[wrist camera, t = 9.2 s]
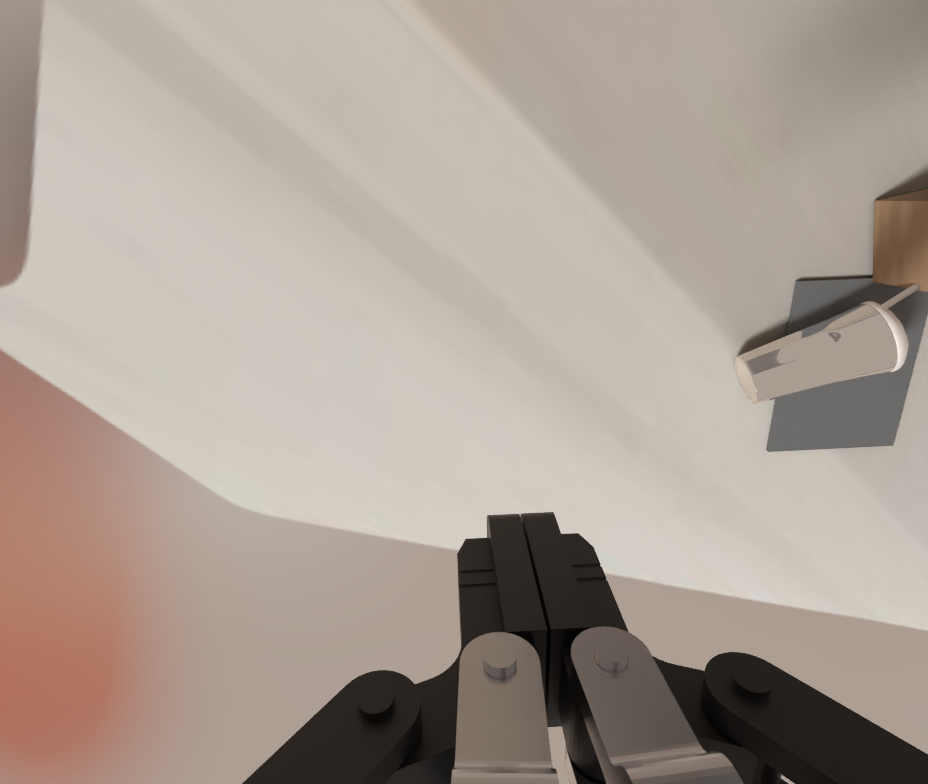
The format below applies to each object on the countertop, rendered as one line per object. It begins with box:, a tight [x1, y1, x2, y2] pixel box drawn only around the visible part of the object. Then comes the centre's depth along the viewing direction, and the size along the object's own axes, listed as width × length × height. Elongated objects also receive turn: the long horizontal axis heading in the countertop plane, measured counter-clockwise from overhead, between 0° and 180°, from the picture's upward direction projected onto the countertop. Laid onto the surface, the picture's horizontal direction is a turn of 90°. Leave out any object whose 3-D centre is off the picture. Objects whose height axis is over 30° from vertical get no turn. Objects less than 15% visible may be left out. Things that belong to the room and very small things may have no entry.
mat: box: [767, 278, 928, 452], centre depth 39 cm, size 12×9×1 cm
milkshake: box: [734, 284, 920, 404], centre depth 36 cm, size 4×5×10 cm
